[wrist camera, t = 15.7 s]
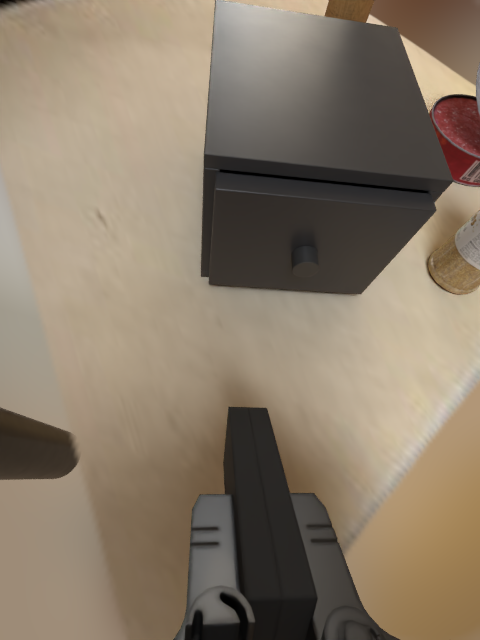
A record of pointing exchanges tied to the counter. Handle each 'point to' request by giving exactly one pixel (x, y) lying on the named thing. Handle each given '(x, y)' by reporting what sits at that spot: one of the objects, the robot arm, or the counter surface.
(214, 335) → the counter surface
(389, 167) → the small drawer cabinet
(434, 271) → the sprinkles bottle
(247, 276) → the pull-out drawer box
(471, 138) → the canned food
